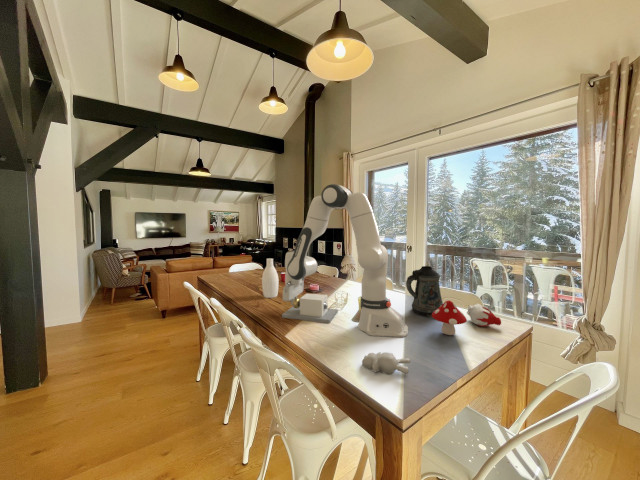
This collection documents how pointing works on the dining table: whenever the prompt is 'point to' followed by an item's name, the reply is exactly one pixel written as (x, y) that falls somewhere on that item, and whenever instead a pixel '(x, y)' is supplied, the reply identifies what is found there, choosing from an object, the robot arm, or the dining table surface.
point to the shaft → (297, 303)
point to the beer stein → (425, 291)
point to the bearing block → (311, 309)
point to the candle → (482, 315)
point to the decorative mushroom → (449, 317)
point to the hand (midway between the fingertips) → (293, 304)
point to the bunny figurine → (384, 363)
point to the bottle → (270, 280)
